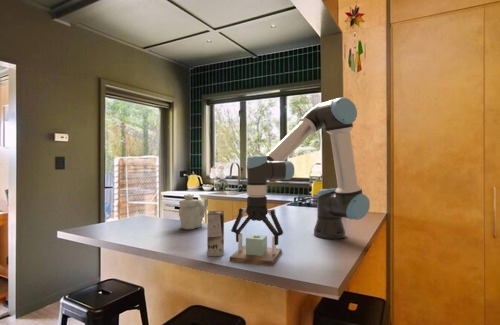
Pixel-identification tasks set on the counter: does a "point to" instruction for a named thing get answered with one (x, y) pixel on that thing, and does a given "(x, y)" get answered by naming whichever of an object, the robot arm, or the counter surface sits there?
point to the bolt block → (256, 257)
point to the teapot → (192, 212)
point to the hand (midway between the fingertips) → (256, 252)
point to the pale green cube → (256, 245)
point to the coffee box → (215, 233)
